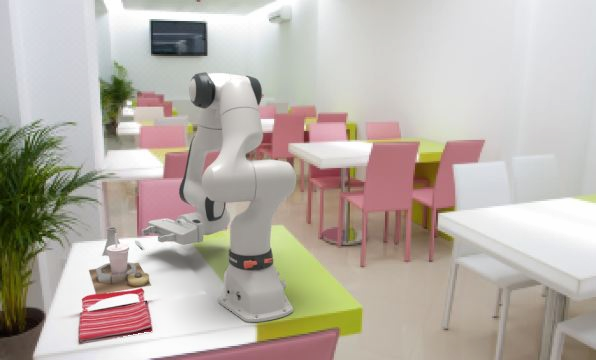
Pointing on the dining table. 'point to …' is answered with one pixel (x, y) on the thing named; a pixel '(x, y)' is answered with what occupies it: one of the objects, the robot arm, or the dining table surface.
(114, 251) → the smoothie
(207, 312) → the dining table surface
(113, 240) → the flask
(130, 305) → the dish towel
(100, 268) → the socket ring
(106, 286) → the carrier board
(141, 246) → the fork
